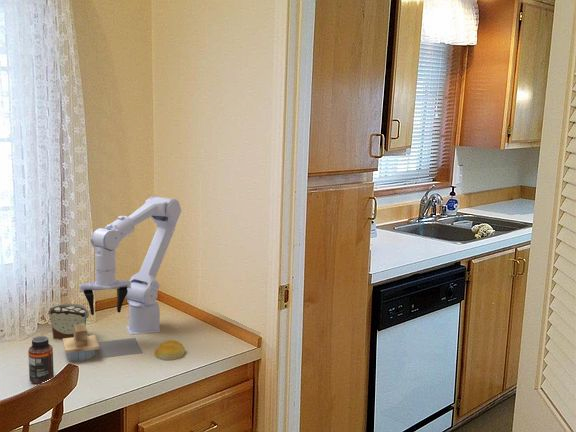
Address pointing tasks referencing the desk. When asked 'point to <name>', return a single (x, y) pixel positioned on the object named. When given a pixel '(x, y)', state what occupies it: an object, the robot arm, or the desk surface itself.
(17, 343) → the desk surface
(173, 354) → the bread roll
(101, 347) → the mat
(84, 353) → the bowl
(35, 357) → the supplement bottle
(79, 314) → the food container
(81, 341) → the lid
